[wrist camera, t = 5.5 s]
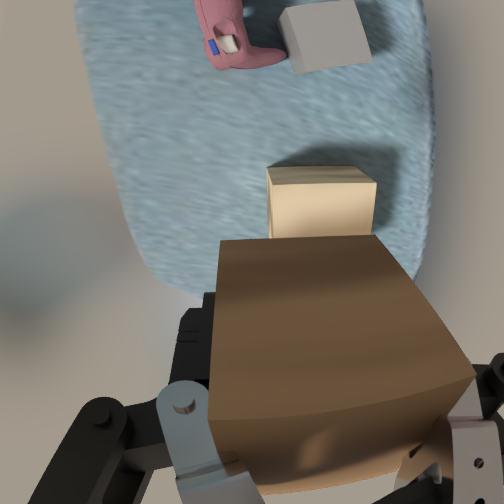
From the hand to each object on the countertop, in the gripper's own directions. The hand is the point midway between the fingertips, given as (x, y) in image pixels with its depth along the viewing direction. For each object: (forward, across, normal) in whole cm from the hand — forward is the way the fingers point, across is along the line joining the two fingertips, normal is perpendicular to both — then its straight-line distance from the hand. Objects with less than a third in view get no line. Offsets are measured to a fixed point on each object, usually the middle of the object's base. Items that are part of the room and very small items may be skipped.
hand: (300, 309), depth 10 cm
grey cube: (+18, -5, -12) cm, 22 cm away
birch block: (+18, -5, +3) cm, 19 cm away
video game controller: (+18, +2, -14) cm, 23 cm away
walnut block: (0, 0, 0) cm, 0 cm away
